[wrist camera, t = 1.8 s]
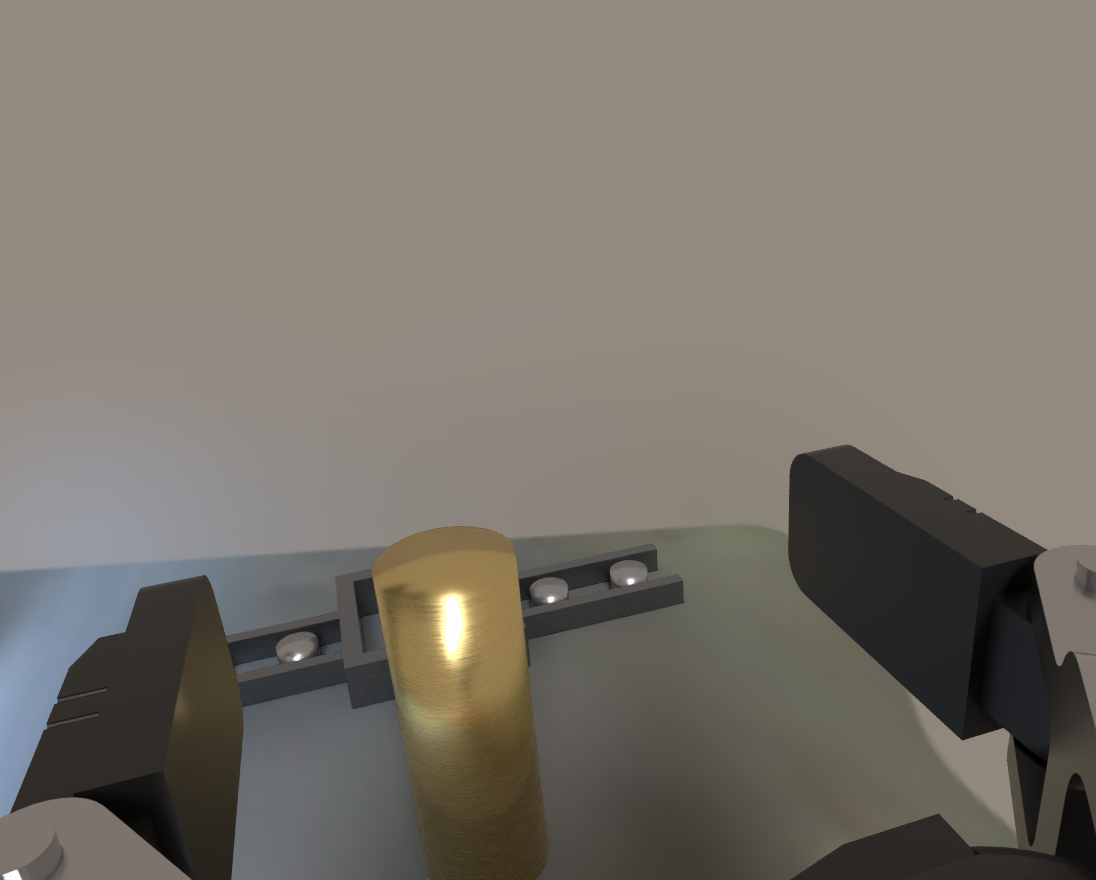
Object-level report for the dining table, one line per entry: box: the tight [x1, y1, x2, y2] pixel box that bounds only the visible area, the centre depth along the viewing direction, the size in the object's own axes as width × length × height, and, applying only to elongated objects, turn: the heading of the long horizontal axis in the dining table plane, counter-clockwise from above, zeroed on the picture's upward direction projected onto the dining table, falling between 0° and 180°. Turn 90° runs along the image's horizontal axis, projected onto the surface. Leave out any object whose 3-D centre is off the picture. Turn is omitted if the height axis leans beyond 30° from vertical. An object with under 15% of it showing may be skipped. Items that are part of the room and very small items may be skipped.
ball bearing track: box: [226, 544, 684, 708], centre depth 39 cm, size 24×8×2 cm, turn 106°
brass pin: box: [372, 526, 548, 880], centre depth 26 cm, size 4×4×11 cm
